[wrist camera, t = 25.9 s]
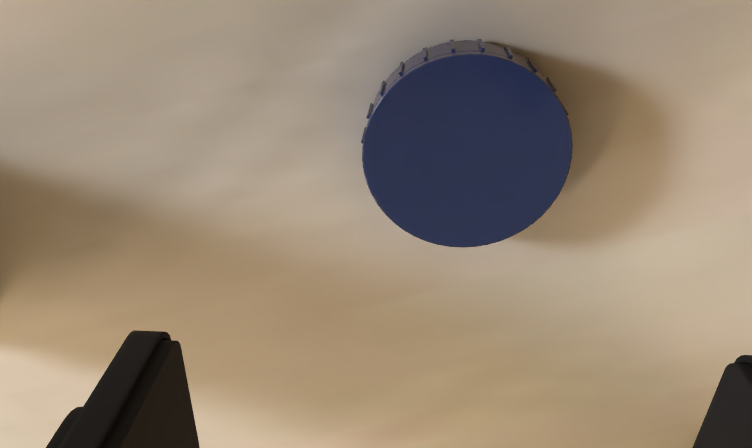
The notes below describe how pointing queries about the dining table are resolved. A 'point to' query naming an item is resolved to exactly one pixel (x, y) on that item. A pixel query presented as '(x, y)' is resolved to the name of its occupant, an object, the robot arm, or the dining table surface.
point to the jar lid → (466, 144)
